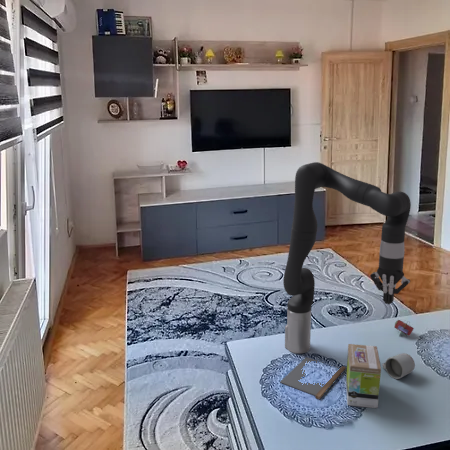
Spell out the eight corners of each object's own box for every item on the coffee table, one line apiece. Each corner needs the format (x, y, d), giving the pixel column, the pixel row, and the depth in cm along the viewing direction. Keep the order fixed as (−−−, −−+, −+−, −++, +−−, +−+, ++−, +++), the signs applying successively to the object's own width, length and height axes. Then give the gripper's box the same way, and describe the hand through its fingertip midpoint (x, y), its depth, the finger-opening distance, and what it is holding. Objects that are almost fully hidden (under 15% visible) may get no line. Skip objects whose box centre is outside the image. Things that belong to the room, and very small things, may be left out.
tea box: (378, 409, 159) (381, 368, 155) (346, 406, 161) (348, 366, 157) (374, 382, 173) (377, 345, 169) (345, 380, 175) (347, 342, 171)
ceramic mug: (415, 374, 177) (417, 355, 175) (402, 382, 172) (403, 363, 170) (390, 362, 185) (392, 344, 183) (377, 370, 181) (378, 351, 179)
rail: (315, 398, 165) (315, 395, 165) (342, 368, 182) (342, 365, 182) (319, 399, 164) (319, 396, 164) (345, 369, 181) (345, 367, 181)
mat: (279, 382, 174) (279, 381, 174) (306, 357, 189) (306, 356, 189) (315, 396, 166) (315, 395, 166) (340, 369, 181) (340, 368, 181)
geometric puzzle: (418, 329, 205) (407, 313, 205) (415, 336, 199) (404, 319, 200) (403, 335, 209) (393, 319, 209) (400, 342, 203) (389, 326, 204)
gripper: (367, 253, 159) (364, 302, 164) (409, 260, 152) (404, 312, 156) (375, 247, 165) (372, 294, 170) (416, 254, 157) (412, 303, 162)
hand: (388, 303), depth 163 cm, fingers closed
